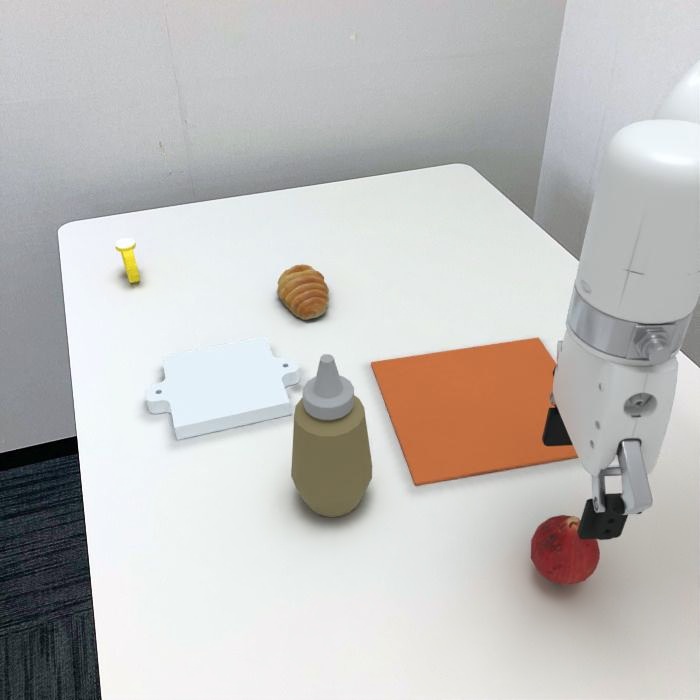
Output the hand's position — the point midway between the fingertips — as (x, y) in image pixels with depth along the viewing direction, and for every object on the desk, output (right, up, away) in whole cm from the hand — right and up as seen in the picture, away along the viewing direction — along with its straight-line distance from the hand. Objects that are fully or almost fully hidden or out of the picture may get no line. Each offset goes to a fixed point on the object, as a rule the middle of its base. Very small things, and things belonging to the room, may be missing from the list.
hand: (578, 486), depth 59 cm
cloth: (-3, +5, +26) cm, 26 cm away
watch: (-50, +21, +48) cm, 73 cm away
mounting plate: (-33, +6, +28) cm, 44 cm away
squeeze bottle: (-20, -4, +16) cm, 26 cm away
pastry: (-24, +18, +43) cm, 52 cm away
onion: (+1, -10, +8) cm, 13 cm away
